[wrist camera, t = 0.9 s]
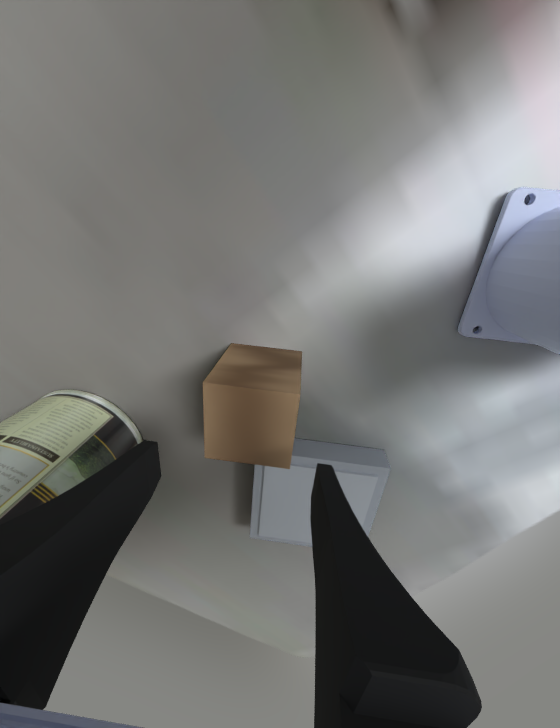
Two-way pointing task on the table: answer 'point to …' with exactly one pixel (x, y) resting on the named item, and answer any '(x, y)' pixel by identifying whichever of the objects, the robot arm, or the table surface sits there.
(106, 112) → the table surface
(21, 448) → the coffee can
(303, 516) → the pedestal
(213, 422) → the walnut block
